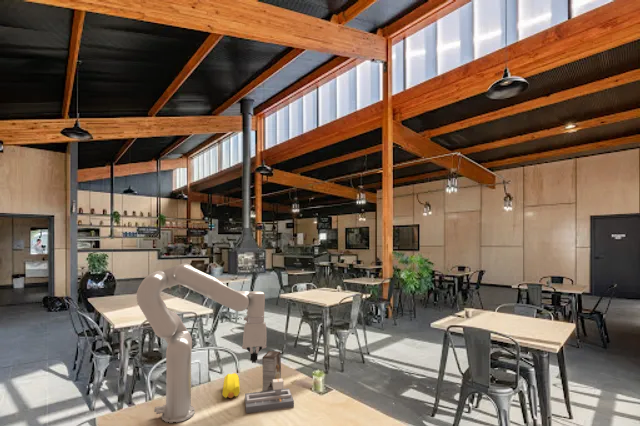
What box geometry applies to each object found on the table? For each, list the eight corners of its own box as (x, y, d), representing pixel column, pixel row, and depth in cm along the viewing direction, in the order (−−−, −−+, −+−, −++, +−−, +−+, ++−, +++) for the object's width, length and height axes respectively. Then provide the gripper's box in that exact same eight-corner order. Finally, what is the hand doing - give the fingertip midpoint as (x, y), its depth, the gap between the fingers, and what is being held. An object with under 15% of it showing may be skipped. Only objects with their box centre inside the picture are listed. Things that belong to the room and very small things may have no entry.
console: (246, 413, 143) (246, 404, 143) (245, 399, 155) (245, 391, 156) (293, 406, 148) (293, 398, 148) (289, 393, 160) (289, 385, 160)
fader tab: (273, 397, 151) (273, 382, 151) (272, 394, 154) (272, 379, 154) (283, 396, 152) (283, 381, 152) (282, 393, 155) (282, 378, 155)
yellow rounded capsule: (222, 401, 154) (239, 399, 155) (222, 386, 154) (239, 384, 156) (223, 384, 171) (239, 383, 173) (223, 370, 172) (239, 369, 173)
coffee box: (269, 383, 171) (268, 350, 172) (281, 384, 170) (281, 351, 171) (262, 391, 162) (262, 356, 163) (275, 392, 161) (275, 357, 162)
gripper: (238, 322, 149) (236, 366, 147) (273, 321, 152) (271, 364, 151) (238, 318, 156) (236, 360, 155) (271, 317, 160) (269, 358, 158)
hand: (253, 361), depth 153 cm, fingers closed
